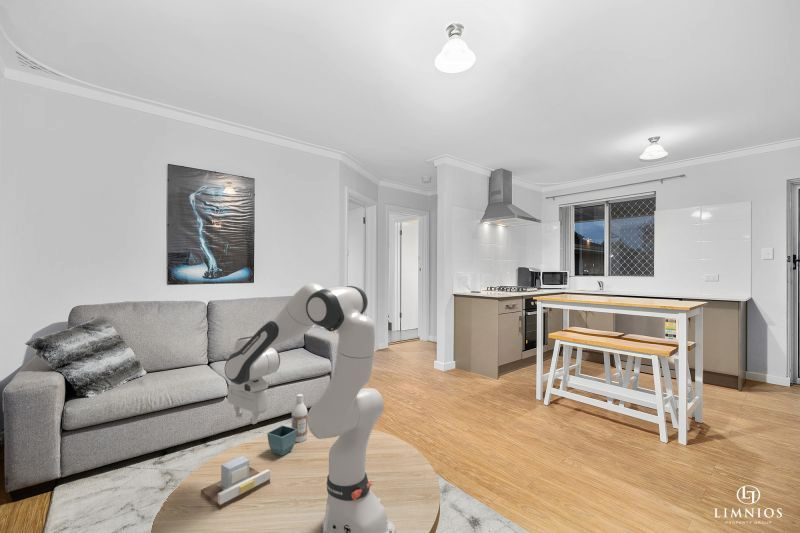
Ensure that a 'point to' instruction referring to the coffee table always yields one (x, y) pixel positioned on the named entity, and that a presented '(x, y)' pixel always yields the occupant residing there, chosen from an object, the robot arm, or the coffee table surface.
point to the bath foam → (300, 419)
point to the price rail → (243, 486)
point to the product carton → (234, 472)
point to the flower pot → (282, 439)
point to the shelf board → (216, 488)
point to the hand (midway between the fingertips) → (246, 420)
